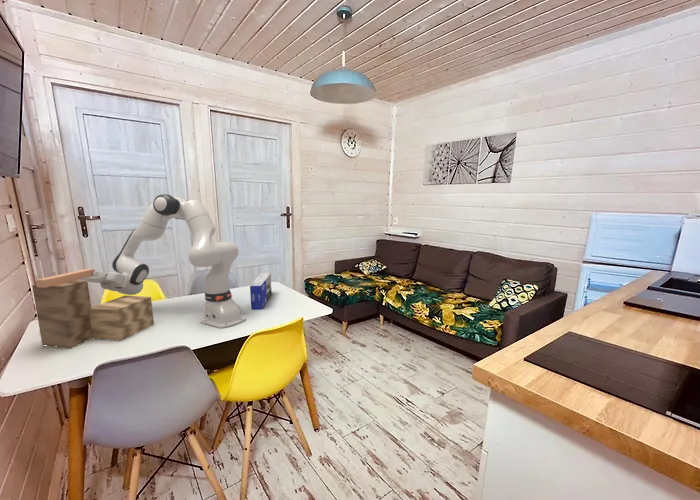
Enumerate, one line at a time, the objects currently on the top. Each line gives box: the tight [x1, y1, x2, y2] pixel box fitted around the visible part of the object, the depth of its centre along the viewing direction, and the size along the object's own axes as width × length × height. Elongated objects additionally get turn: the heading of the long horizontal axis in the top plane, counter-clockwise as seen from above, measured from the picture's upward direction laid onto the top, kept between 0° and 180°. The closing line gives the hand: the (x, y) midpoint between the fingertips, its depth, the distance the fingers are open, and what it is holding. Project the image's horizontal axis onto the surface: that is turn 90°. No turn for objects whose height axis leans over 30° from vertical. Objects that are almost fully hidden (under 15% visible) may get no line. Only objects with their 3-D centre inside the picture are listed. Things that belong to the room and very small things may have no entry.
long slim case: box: [35, 268, 96, 288], centre depth 127 cm, size 20×4×3 cm, turn 172°
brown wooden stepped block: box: [31, 280, 155, 349], centre depth 133 cm, size 27×28×26 cm
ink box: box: [249, 272, 273, 311], centre depth 181 cm, size 30×7×14 cm, turn 5°
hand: (85, 272), depth 134 cm, fingers open, 7 cm apart
